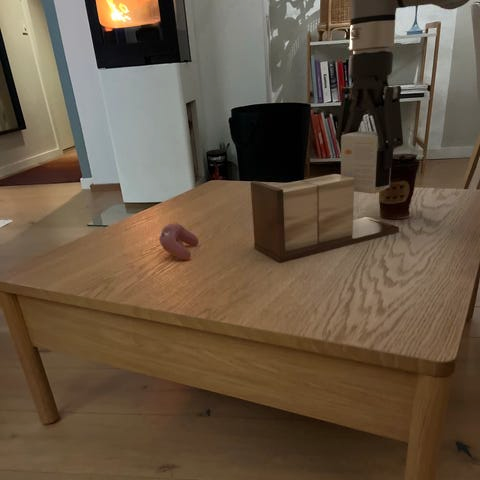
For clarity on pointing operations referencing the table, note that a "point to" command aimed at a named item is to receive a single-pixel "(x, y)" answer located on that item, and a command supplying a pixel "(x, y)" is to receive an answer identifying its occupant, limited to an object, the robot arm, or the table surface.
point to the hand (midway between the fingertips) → (365, 181)
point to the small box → (361, 160)
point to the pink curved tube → (177, 240)
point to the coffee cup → (399, 187)
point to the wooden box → (309, 217)
